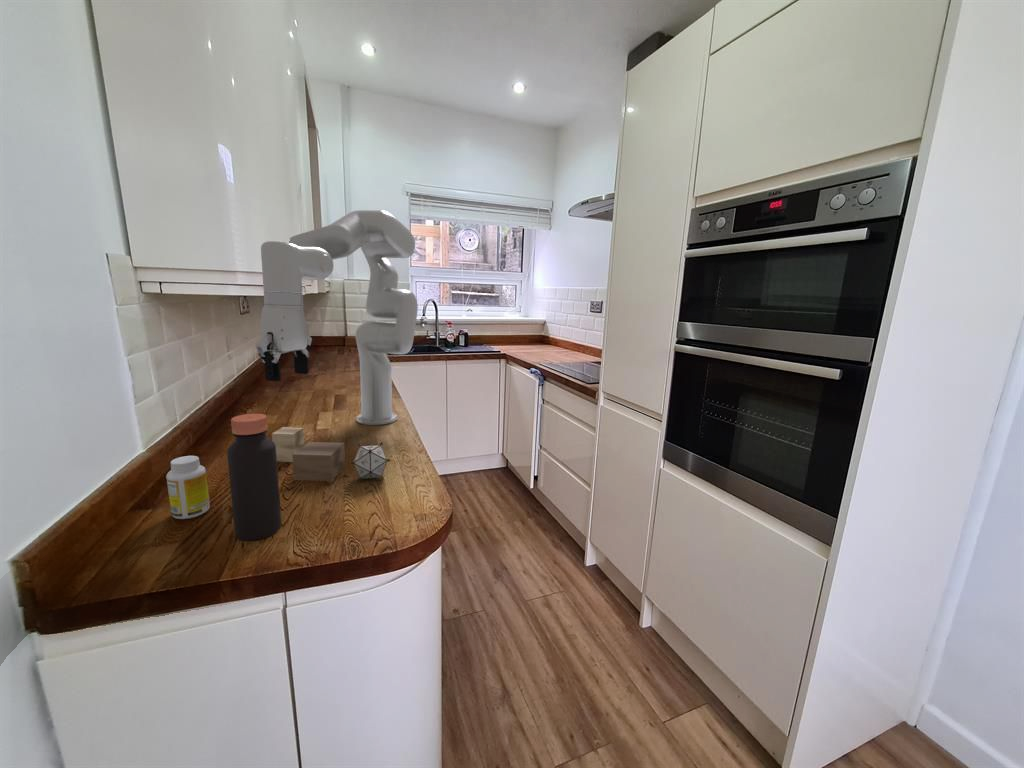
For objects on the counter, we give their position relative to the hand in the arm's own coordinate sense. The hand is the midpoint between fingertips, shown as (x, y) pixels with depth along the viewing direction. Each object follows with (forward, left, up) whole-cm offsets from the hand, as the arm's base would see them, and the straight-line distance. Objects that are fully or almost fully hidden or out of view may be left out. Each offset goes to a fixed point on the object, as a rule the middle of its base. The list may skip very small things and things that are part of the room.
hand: (288, 376), depth 95 cm
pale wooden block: (-3, -2, -21) cm, 21 cm away
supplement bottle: (+24, -6, -21) cm, 33 cm away
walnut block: (+5, +9, -21) cm, 23 cm away
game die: (+7, +21, -21) cm, 30 cm away
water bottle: (+29, +9, -21) cm, 37 cm away
